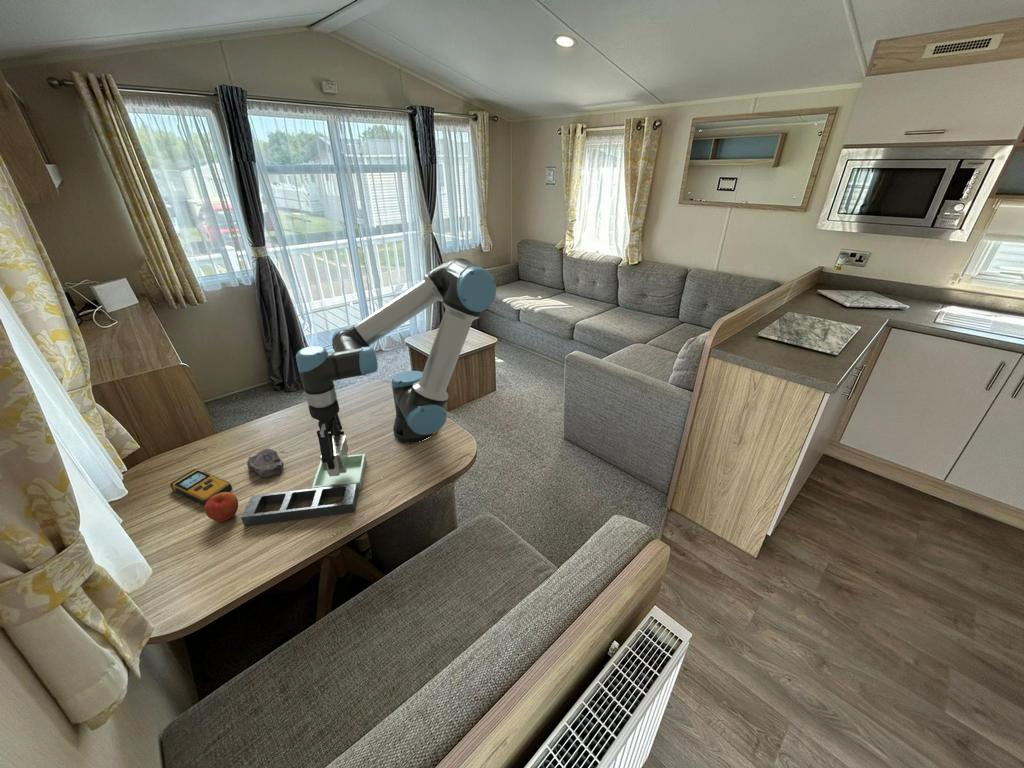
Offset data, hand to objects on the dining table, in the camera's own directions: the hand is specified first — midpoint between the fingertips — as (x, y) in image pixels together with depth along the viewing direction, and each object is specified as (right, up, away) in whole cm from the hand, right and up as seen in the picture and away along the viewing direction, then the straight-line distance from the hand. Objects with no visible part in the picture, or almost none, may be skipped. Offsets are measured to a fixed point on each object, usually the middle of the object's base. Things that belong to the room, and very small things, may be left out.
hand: (337, 464), depth 121 cm
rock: (-25, -3, +6) cm, 26 cm away
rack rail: (-6, -11, -8) cm, 15 cm away
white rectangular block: (0, -1, +1) cm, 2 cm away
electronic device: (-38, -8, -3) cm, 39 cm away
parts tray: (0, -5, +3) cm, 5 cm away
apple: (-25, -12, -11) cm, 30 cm away
